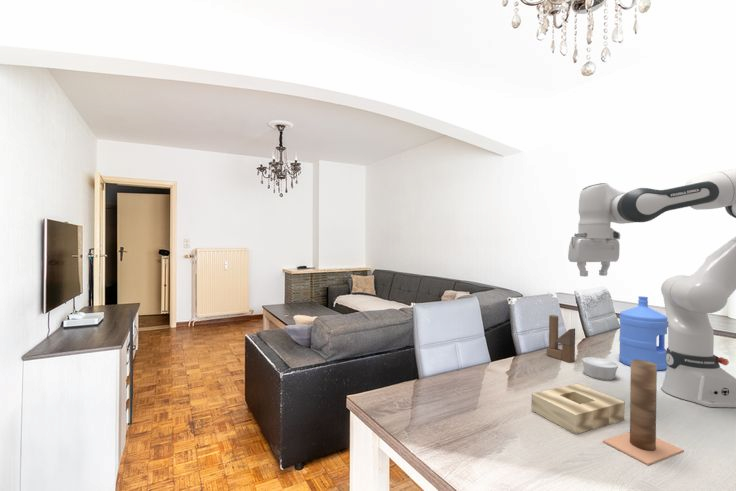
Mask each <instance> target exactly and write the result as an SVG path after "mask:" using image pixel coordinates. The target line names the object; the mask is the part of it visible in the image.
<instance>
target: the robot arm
mask: <svg viewBox="0 0 736 491" xmlns="http://www.w3.org/2000/svg"><path fill="white" fill-rule="evenodd" d="M689 207H690V208H691V209H694V210H699V211H700V210H714V209H719V208H720V209H721V208H725V212H726V213H727V214H728V215H730V217H732V218H734V219H736V168H732V169H724V170H719V171H714V172H709V173H705V174H702V175H699V176H697V177H694V178H691V179H689V180H688V181H686V183H685V184H684V185H681V186H677V187H676V186H675V187H672V188H666V189H654V188H648V187H640V188H635V189H632V190H629V191H627V192H625V191H621V190H618V189H616V188H614V187H612V186H611V185H609V184H608V183H605V182H604V183H603V182H602V183H601V182H600V183H595V184H591V185H588V186H586V187H583V188H582V189H581V191H580V194H579V200H578V215H579V222H578V228H577V230H578V232H575V233H574V234H573V235H572V236H571V238H570V241H569V245H568V251H567V252H568V253H567V254H568V255H567V259H568V261H569V262H571V263H576V266H577V268H578V270H579V276H580V277H588V276H589V271H588V270H587V269H586V266H587V263H600V265H601V268H600V269H599V270H598V275H599V276H608V270H609V269H610V267H611V263H612V262H614V263H616V262H618V260H619V259H620V241H619V240H620V239H621V233H620V232H619V231H617V230H615V229H614V228H612V226H611V224H612V223H615V224H619V225H620V224H622V225H623V224H632V223H647V222H650V221H652V220H654V219H657V217H659V216H661V215H662V214H664V213H666V212H669V211H673V210H679V209H683V208H689ZM660 291H661V294H662V297H663V302H664V308H665V309H664V310H665V316H666V317H667V321H668V326H667V335H668V336H667V340H668V341H667V342H668V343H667V344H668V345H667V347H666V363H667V368H666V369H665V370H666V371H665V374H664V375H665V376H664V378H663V379H664V380H663V383H662V386H661V390H662V391H663V392H665V393H666V394H668V395H671V396H672V397H673V396H674V397H676V398H679V399H680V400H681V399H682V400H685V401H688V402H692V403H693V402H694V403H697V404H700V405H703V406H704V407H710V408H736V377H734V376H733V375H732V374H730V373H729V372H727V370H725V369H723V368H722V367H721V366H720V364H721V365H723V366H728V365H729V364H730V361H729V360H728V359H727V358H725V357H719V356H717V355H715V354H714V346H715V345H714V340H715V339H714V335H715V332H714V329H713V327H712V325H711V323H710V319H709V315H708V314H713V313H717V312H719V311H721V310H723V309H724V308H725V307H726V305H727V303H728V299H729V298H730V297H731V295H733V293H734V292H735V291H736V236H734V237H732V238H731V239H730V240H728V241H727V242H725V244H723V245H722V246H721V247H719V248H718V249H716V250H715V251H713V253H711V254H710V255H708V256H707V257H706V258H705V261H704V262H703V263H702V265H701V266H700V267H699V268H698V269H697V270H696V271H695V272H693V274H691V275H683V274H681V275H675V276H670V277H669V278H667V279H665V280H664V281H663V283H662V284H661V287H660Z"/></svg>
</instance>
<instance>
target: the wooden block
mask: <svg viewBox="0 0 736 491" xmlns="http://www.w3.org/2000/svg"><path fill="white" fill-rule="evenodd" d="M559 344H561V347H562V348H559ZM547 355H548V357H550V356H551V358H555V359H557V360H560V361H563V362H565V363H569V364H570V362H571V363H575V362H576V328H570V329H568V330H567V331H565V332H564V333H563V334H562V335H561V336H559V315H555V314H550V315H549V316H548V347H546V356H547Z"/></svg>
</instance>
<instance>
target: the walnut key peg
mask: <svg viewBox="0 0 736 491" xmlns="http://www.w3.org/2000/svg"><path fill="white" fill-rule="evenodd" d="M657 375H658V370H657V365H656V364H654V363H652V362H648V361H643V360H631V366H630V388H629V390H630V393H629V394H630V395H629V396H630V399H629V400H630V401H629V432H630V443H631V444H632V445H633V446H635V447H637V448H639V449H642V450H646V451H654V450H656V438H657V389H658V388H657V385H658V384H657V383H658V382H657V380H658V379H657V377H658V376H657Z"/></svg>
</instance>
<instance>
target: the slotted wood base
mask: <svg viewBox="0 0 736 491" xmlns="http://www.w3.org/2000/svg"><path fill="white" fill-rule="evenodd" d="M625 404H626V402H625V401H624V400H621V399H618V398H616V397H613V396H611V395H607V394H606V393H603V392H600V391H598V390H595V389H593V388H591V387H588V386H586V385H583V384H580V383H575V384H571V385H570V384H569V385H565V386H560V387H556V388H555V387H554V388H552V389H547V390H542V391H537V392H532V393H531V411H532V412H534V413H535V412H536V414H538V415H539V416H541V417H543V418H545V419H547V420H548V421H551V422H552V423H554V424H556V425H557V426H560V428H561V427H562V428H564V429H565V430H566V431H569V432H571V433H573V434H575V435H578V434H581V433H584V432H588V431H591V430H594V429H595V430H596V429H598V428H602V427H605V426H608V425H613V424H615V423H618V422H622V421H625V418H626V416H625V414H626V413H625V412H626V406H625Z"/></svg>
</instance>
